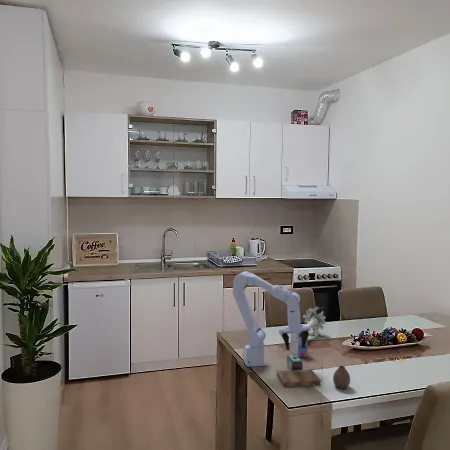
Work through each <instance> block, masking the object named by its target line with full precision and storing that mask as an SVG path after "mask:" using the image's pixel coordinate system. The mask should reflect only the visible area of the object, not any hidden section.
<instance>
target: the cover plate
mask: <svg viewBox="0 0 450 450" xmlns="http://www.w3.org/2000/svg"><path fill="white" fill-rule="evenodd" d="M288 356H289V358H290V360H291V361H292V362H301V361H302V359H301V358H300V357H299V358H300V359H299V358H298V357H297V356H296V355H295V354H294V355H288Z"/></svg>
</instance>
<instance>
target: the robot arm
mask: <svg viewBox="0 0 450 450" xmlns="http://www.w3.org/2000/svg"><path fill="white" fill-rule="evenodd" d="M232 283H233V284H232V295H233V298H234V300H235V303H236V304H237V308H238V310H239V312H240V315H241V317H242V319H243V320H242V321H244V323H245V326H246V335H247V342H248V344H246V345H244V347H243V348H244V349H243V350H244V351H243V362H244V364H245V365H246V367H248V368H249V367H265V366H267V364H266V361H265V342H264V341H265V339H266V337H267V336H266V335H267V334H266V332H265V331H264V329H262V327H261V325H260V324H259V323H258V321H257V320H256V318H255V317H256V316H255V315H254V313H253V310H252V309H251V306H250V303H249V300H248V298H247V296H246V294H245V292H246V290H247V287H250V286H251V287H252V286H256V287H259V288H261V289H263V290H265V291H267V292H269V293H271V296H272V297H274V298H276V299H277V300H280V301H281V302H284V303H285V305H286V306H287V307H286V308H287V309H286V310H287V328H281V329H278V332H279V333H278V334H279V335H280V336H281V338H282V340H283V342H284V345H285V349H286V350H287V351H290V334H291V333H298V332H300V333H301V340H302V347H303V348H305V344H306V340H307V338H308V339H309V336H310V332H311V329H310V327H309V326H307V327H301V325H302V324H301V309H300V301H301V295H300V294H299V293H298V292H296V291H293V290H291V289H289V290H288V289H287V288H285V287H283V286H284V285H282V284H276V285H273V284H271V283H270V282H268V281H266V280H265V279H263V278H261V277H260V276H257V275H256V274H254V273H251V272H250V271H247V270H244V271H241V273H238V274H236V275H235V277H234V279H233V280H232Z"/></svg>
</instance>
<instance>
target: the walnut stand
mask: <svg viewBox="0 0 450 450" xmlns="http://www.w3.org/2000/svg"><path fill="white" fill-rule="evenodd" d="M276 377H277V378H278V380H279V381H280V383H281V385H282V384H283V385H282V387H284V388H288V387H287V386H293V387H307V386H309V387H310V386H312V387H313V386H321V384H322V383H321V382H322V380H321V379H320V378H319V376H318V375H317V374H316V373H315V372H314V371H313V370H312V368H311V369H303V370H289V369H288V370H276Z"/></svg>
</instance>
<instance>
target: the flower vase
mask: <svg viewBox="0 0 450 450" xmlns="http://www.w3.org/2000/svg"><path fill="white" fill-rule="evenodd" d="M319 309H320V307H318V305H317V306H314V307H313V308H312V307H309V308H308V309H307V310H306V311H305V313H306V314H303V315H302V318H304V323H305V325H303V326H304V327H307V326H309V327H310V330H312V331H313V332H311V333H309V336H314V337H316V338H318V337H319V336H321V337H323V336H324V335H323V334H322V333H321V332H319V330H323V329H324V324H327V321H326V320H325V319H327V318H326V315H324V310H322V311H321V312H319V313H317V311H318V310H319ZM312 314H313V315H312Z"/></svg>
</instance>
